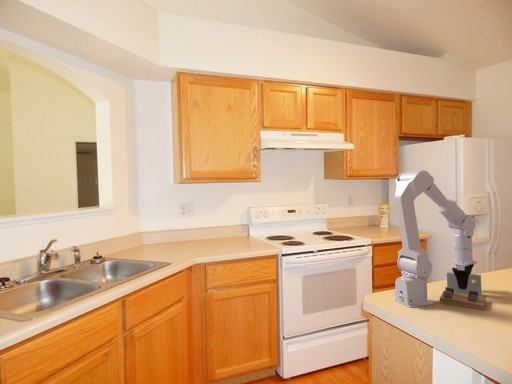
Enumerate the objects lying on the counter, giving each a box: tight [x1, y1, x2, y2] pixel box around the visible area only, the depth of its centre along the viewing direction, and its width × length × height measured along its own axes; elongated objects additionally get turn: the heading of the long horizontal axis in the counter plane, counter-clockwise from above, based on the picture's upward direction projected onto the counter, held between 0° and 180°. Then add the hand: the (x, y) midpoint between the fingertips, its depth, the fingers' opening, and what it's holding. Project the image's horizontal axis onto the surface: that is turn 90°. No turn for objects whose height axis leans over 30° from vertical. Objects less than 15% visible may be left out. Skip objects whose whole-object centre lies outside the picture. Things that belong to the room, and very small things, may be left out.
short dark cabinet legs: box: [442, 286, 478, 302], centre depth 104 cm, size 5×9×2 cm, turn 52°
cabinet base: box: [439, 292, 487, 311], centre depth 104 cm, size 9×12×2 cm
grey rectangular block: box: [446, 271, 483, 297], centre depth 112 cm, size 3×10×7 cm, turn 52°
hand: (463, 286), depth 112 cm, fingers open, 7 cm apart
